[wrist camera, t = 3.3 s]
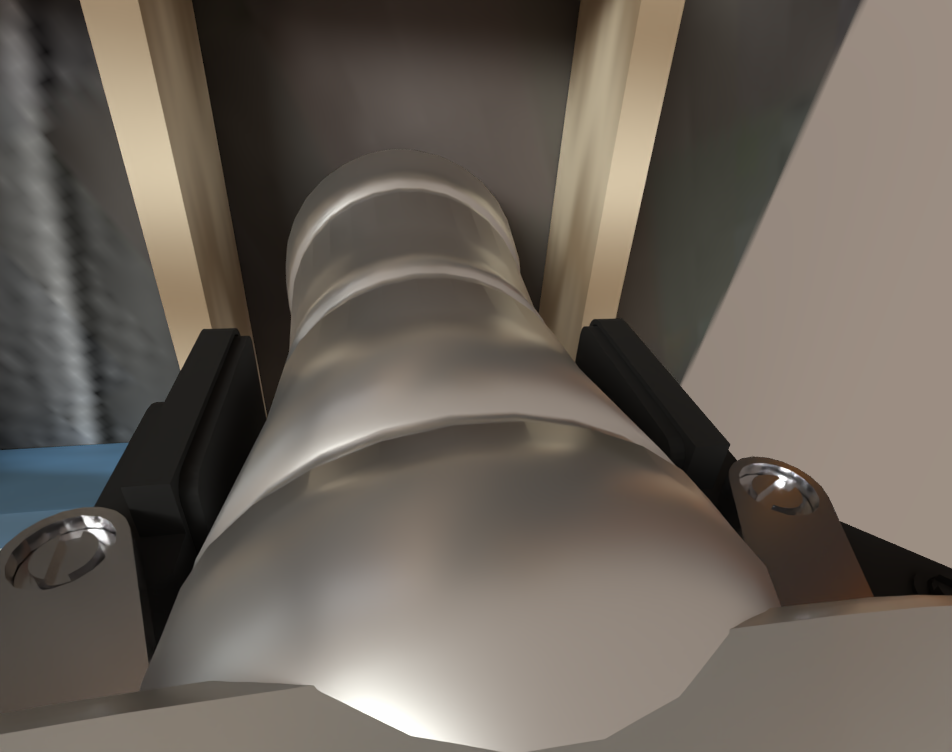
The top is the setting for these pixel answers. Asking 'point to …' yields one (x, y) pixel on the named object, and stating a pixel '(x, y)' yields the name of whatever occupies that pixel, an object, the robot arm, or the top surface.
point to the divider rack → (210, 225)
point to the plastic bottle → (451, 497)
